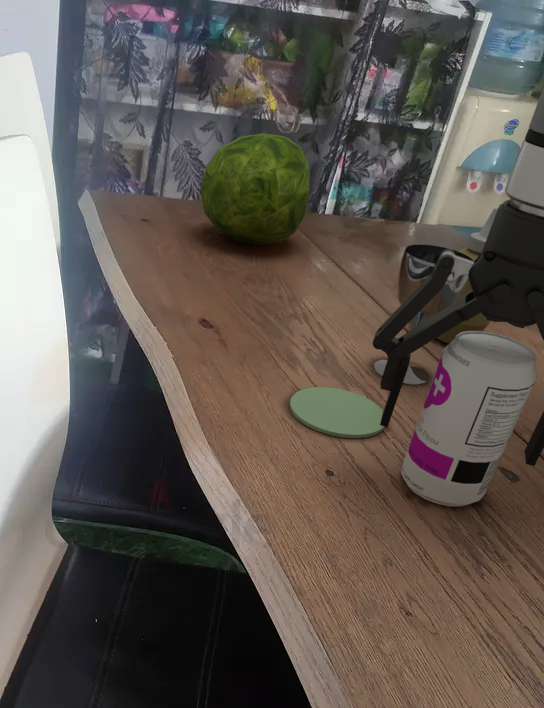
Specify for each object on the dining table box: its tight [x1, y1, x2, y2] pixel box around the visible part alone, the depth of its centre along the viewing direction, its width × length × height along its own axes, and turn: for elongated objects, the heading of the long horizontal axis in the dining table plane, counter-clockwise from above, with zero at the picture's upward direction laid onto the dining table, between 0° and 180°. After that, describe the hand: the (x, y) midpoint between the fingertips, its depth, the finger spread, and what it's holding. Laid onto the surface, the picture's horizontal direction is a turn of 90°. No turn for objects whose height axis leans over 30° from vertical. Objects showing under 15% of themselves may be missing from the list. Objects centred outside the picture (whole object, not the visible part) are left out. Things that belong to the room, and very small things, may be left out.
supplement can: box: [400, 330, 538, 507], centre depth 69 cm, size 8×8×15 cm
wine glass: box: [373, 244, 473, 385], centre depth 91 cm, size 8×8×15 cm
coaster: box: [289, 386, 385, 439], centre depth 84 cm, size 11×11×1 cm
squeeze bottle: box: [436, 207, 498, 345], centre depth 101 cm, size 8×8×18 cm
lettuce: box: [199, 132, 311, 246], centre depth 131 cm, size 19×23×18 cm
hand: (455, 439), depth 71 cm, fingers open, 13 cm apart
